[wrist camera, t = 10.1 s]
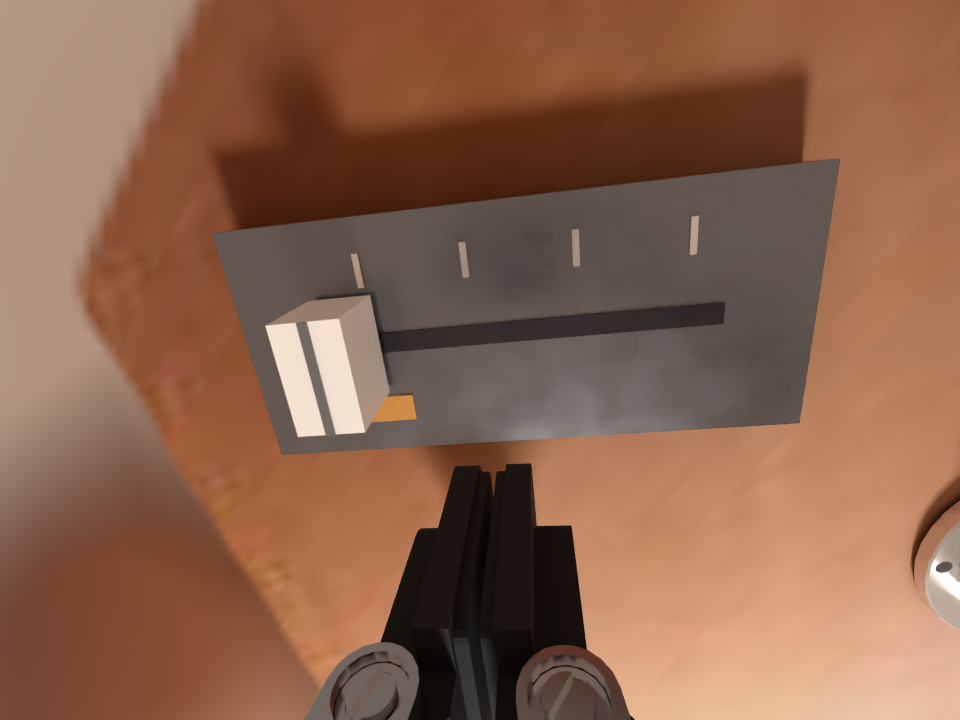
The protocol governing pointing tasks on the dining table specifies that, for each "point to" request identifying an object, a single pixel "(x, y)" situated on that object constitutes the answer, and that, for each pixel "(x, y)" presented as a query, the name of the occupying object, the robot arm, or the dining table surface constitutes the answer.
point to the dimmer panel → (561, 306)
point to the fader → (330, 365)
